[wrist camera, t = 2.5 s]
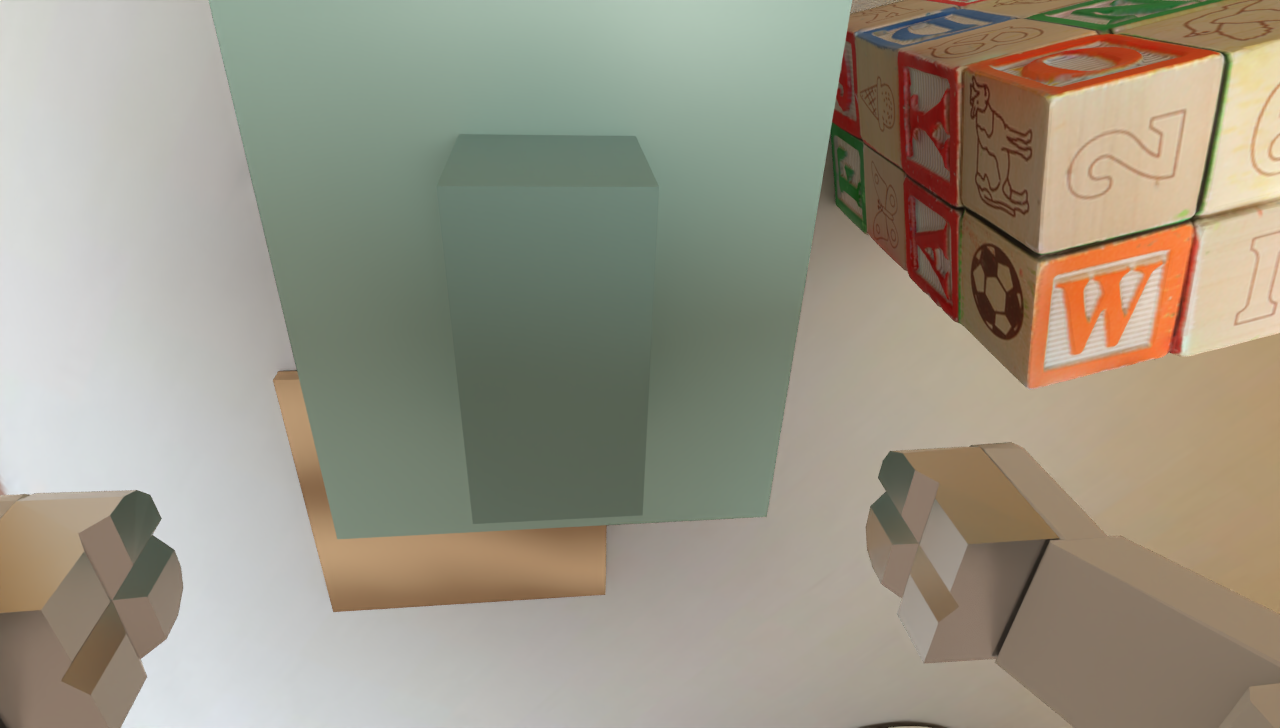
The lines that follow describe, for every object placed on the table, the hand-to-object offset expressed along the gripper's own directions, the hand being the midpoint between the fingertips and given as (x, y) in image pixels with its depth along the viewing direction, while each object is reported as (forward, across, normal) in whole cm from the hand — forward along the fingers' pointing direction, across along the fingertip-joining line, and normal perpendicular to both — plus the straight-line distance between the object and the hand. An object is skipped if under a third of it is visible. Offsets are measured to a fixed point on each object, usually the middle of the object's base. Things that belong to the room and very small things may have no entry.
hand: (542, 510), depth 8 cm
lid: (+7, 0, 0) cm, 7 cm away
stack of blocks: (+18, -20, -3) cm, 27 cm away
